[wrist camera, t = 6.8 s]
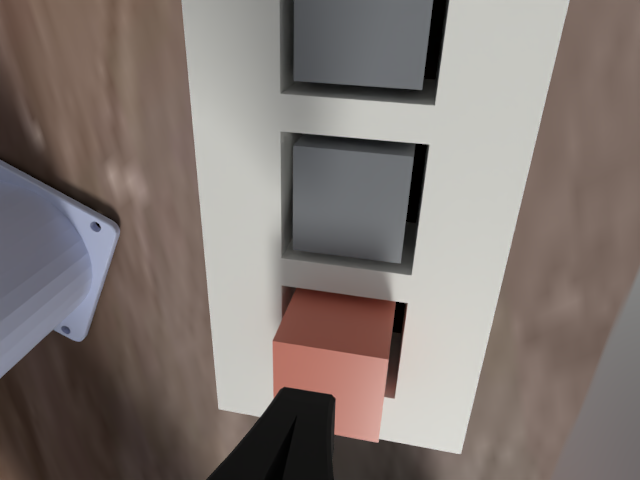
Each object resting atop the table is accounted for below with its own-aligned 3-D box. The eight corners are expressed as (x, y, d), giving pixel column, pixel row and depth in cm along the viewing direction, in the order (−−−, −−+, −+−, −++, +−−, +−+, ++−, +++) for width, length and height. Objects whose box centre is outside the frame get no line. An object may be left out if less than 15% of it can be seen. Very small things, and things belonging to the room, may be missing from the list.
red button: (388, 362, 20) (378, 442, 17) (301, 348, 21) (274, 423, 17) (397, 287, 18) (388, 359, 15) (302, 274, 19) (272, 340, 16)
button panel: (457, 382, 23) (460, 454, 20) (249, 348, 25) (218, 408, 21) (574, -169, 14) (621, -218, 10) (224, -165, 15) (162, -206, 12)
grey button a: (425, 66, 17) (422, 90, 14) (321, 60, 18) (293, 80, 14) (440, -56, 15) (441, -65, 12) (325, -59, 16) (294, -68, 13)
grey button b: (407, 212, 20) (400, 263, 16) (317, 202, 20) (292, 249, 17) (418, 122, 18) (413, 156, 15) (320, 113, 19) (293, 145, 15)
